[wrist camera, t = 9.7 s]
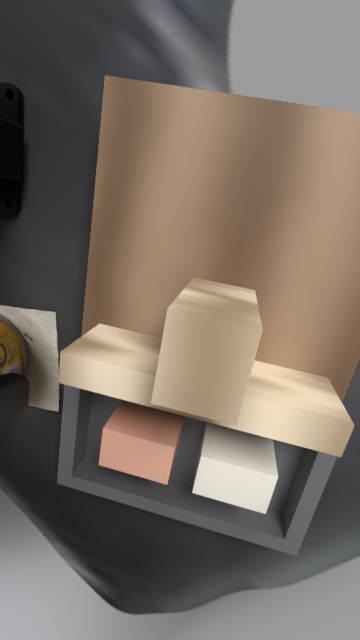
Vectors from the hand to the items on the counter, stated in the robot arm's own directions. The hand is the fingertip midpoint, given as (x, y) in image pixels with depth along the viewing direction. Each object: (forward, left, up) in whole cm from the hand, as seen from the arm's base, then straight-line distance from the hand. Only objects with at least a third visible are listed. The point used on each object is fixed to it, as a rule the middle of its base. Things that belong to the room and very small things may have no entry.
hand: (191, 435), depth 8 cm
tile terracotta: (-3, -6, -9) cm, 12 cm away
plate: (0, +3, -12) cm, 12 cm away
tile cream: (+3, -6, -9) cm, 12 cm away
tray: (0, -9, -12) cm, 15 cm away
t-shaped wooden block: (0, 0, -9) cm, 9 cm away
